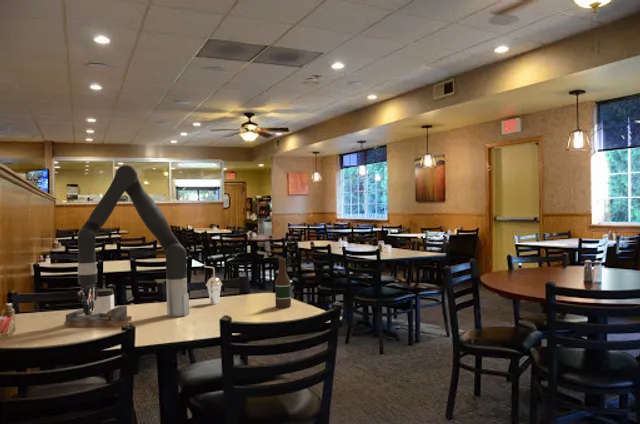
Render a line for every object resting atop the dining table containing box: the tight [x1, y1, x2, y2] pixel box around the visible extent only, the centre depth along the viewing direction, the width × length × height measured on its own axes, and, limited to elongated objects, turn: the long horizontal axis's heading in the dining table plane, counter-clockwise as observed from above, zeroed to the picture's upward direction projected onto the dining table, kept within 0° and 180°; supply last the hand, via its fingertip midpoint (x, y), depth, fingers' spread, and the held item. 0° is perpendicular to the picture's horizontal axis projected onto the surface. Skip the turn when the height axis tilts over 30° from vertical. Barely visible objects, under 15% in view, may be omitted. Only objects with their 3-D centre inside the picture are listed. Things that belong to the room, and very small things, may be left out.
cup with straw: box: [203, 265, 224, 305], centre depth 254 cm, size 8×9×20 cm
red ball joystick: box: [77, 294, 100, 317], centre depth 214 cm, size 7×7×11 cm
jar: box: [93, 288, 115, 313], centre depth 231 cm, size 9×8×12 cm
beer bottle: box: [274, 257, 292, 309], centre depth 242 cm, size 8×8×24 cm
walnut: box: [107, 310, 111, 319], centre depth 213 cm, size 4×4×4 cm
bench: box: [63, 305, 132, 328], centre depth 214 cm, size 24×12×7 cm, turn 85°
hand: (88, 311), depth 214 cm, fingers closed on red ball joystick, 3 cm apart
